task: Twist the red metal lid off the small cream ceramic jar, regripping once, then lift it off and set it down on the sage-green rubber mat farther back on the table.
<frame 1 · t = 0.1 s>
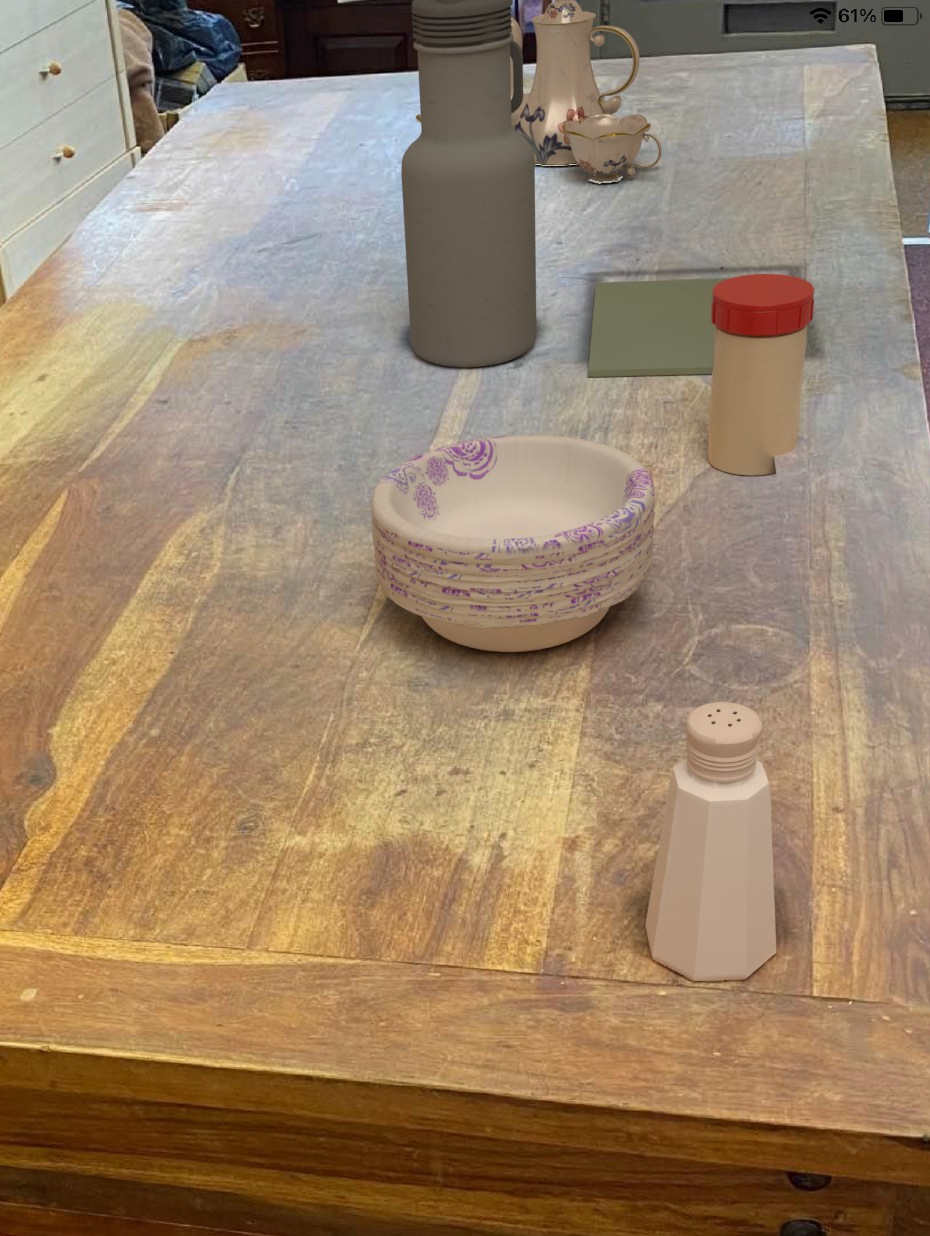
paper bowls: (513, 616, 91), on the table
jar: (751, 458, 105), on the table
pepper shaker: (709, 945, 67), on the table
mat: (696, 327, 126), on the table
chinaware: (548, 166, 169), on the table
lid: (762, 294, 99), point 11 cm above the table, screwed on, not yet turned
water bottle: (474, 349, 127), on the table
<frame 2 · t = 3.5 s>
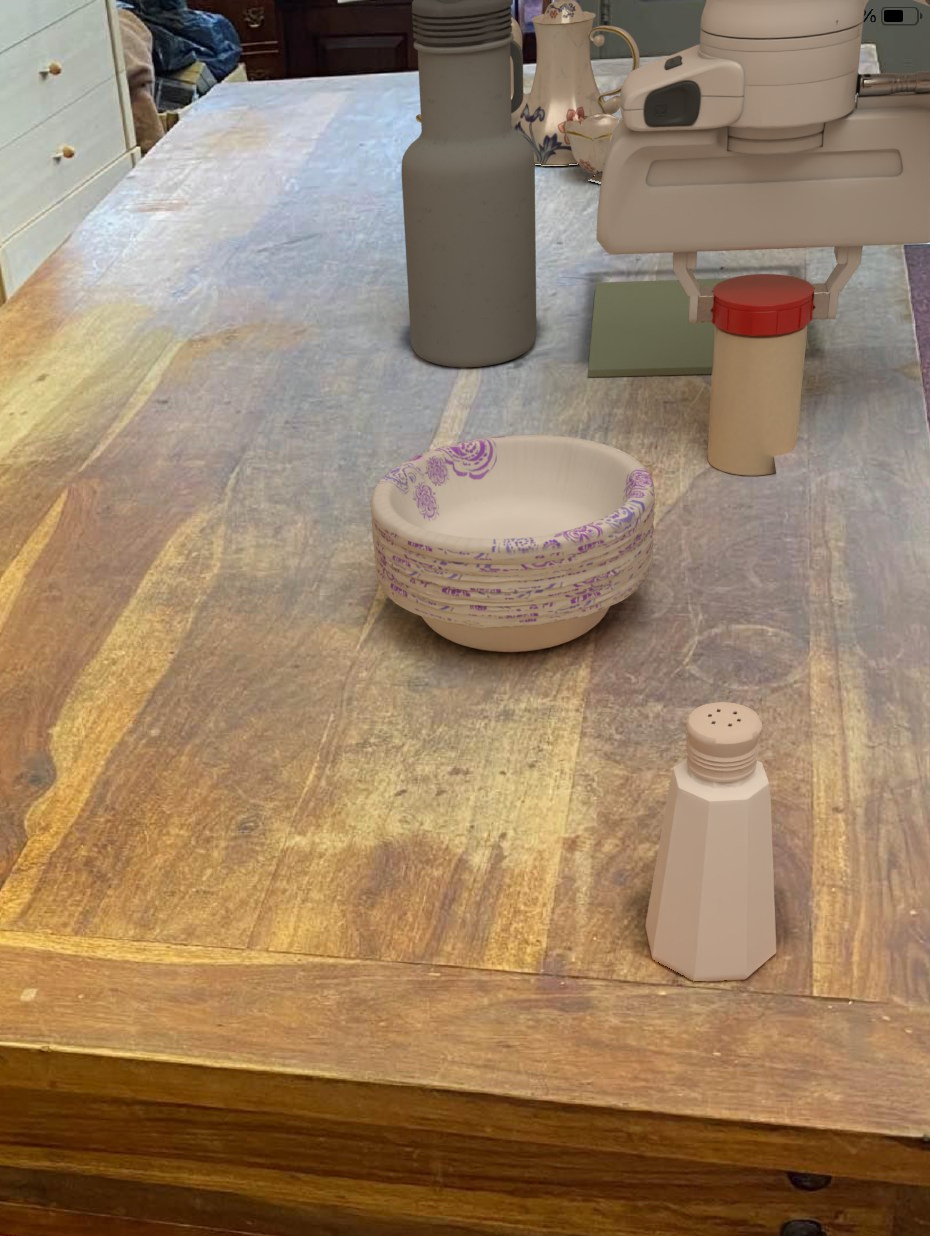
hand: (760, 318, 100), 9 cm above the table, tool pointing down, fingers closed on lid, 6 cm apart
lid: (762, 295, 99), point 11 cm above the table, screwed on, not yet turned, touching gripper
everything else where it was.
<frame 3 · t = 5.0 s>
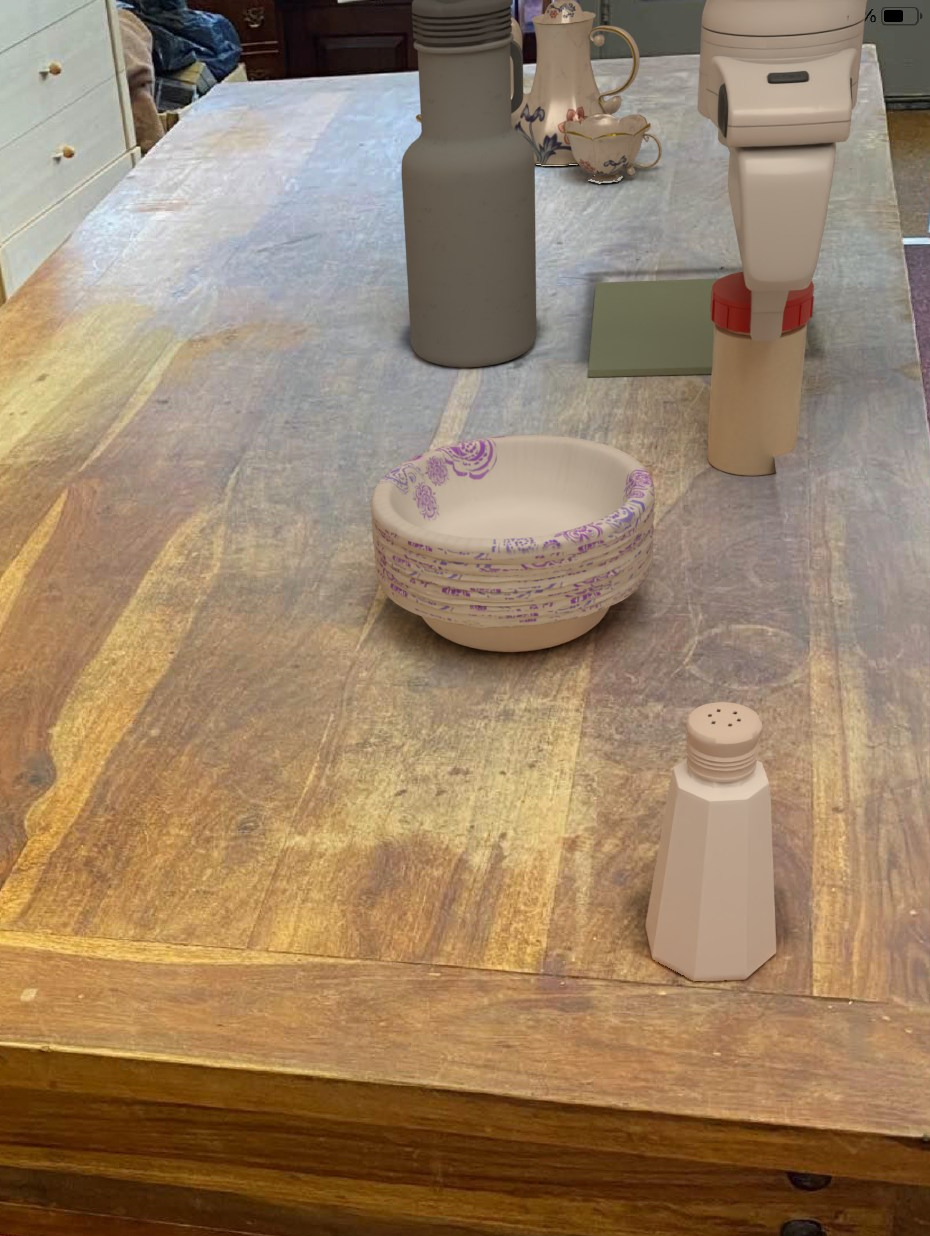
hand: (760, 316, 100), 9 cm above the table, tool pointing down, fingers closed on lid, 6 cm apart
lid: (762, 291, 99), point 11 cm above the table, turned 91° so far, risen 0.2 cm, still on its thread, touching gripper
everything else where it was.
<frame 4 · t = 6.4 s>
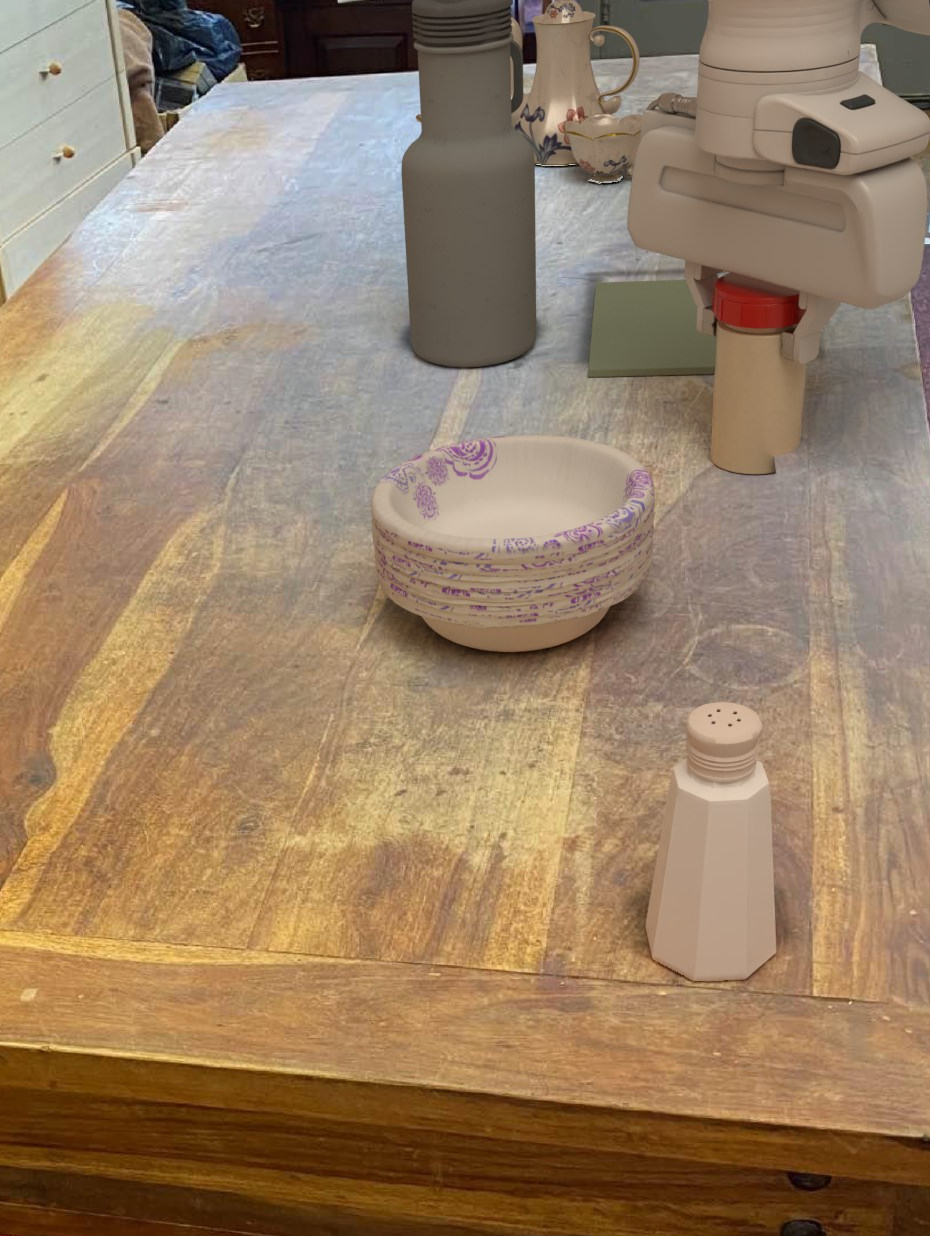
hand: (756, 346, 101), 8 cm above the table, tool pointing down, fingers closed on jar, 5 cm apart
jar: (754, 457, 105), on the table, touching gripper
lid: (765, 288, 99), point 11 cm above the table, turned 135° so far, risen 0.3 cm, still on its thread
everything else where it was.
when the fingers open (7 cm above the table, at t = 8.0 s): jar stays where it is, on the table.
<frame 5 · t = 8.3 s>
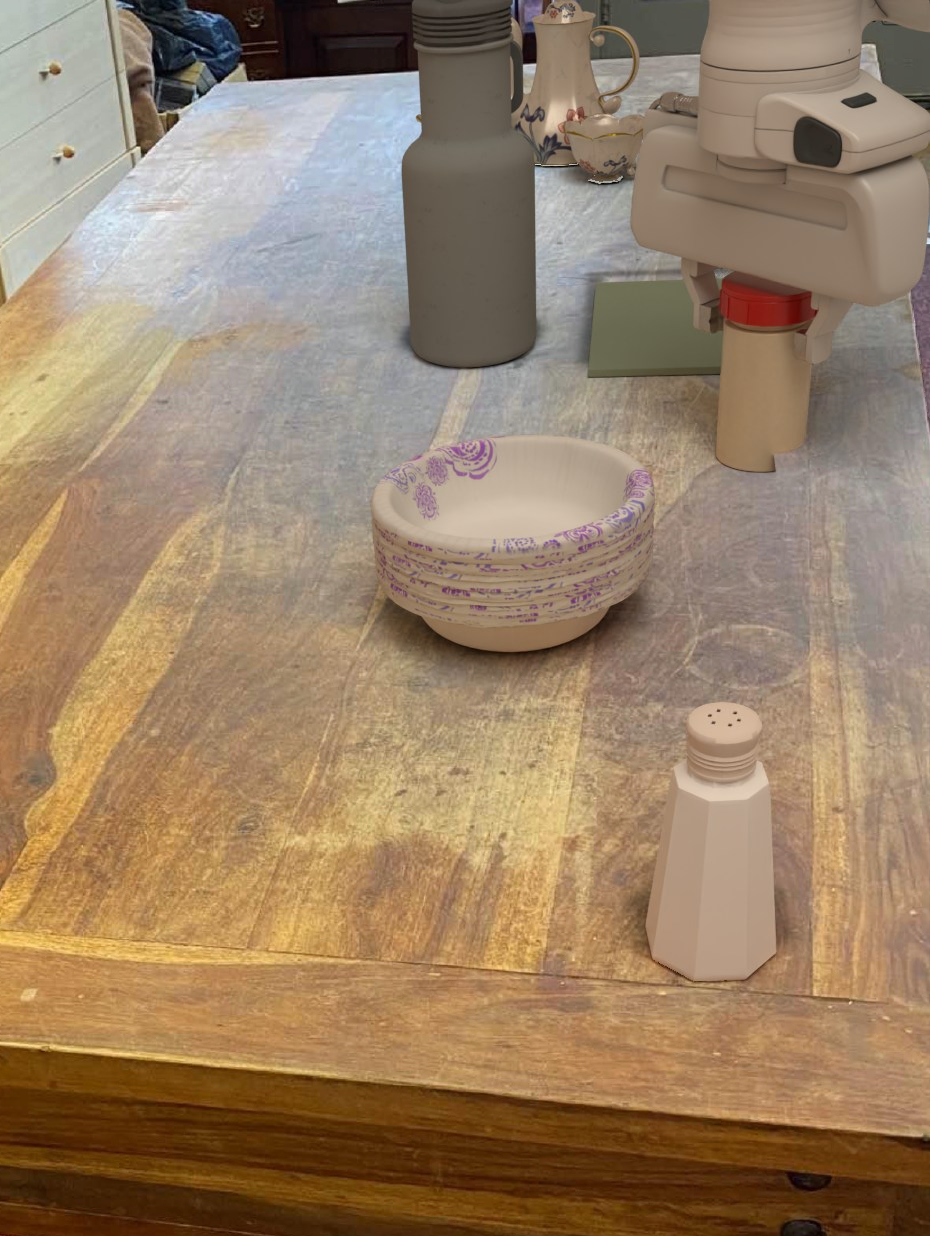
hand: (759, 344, 101), 8 cm above the table, tool pointing down, fingers open, 7 cm apart
jar: (759, 454, 106), on the table
everything else where it was.
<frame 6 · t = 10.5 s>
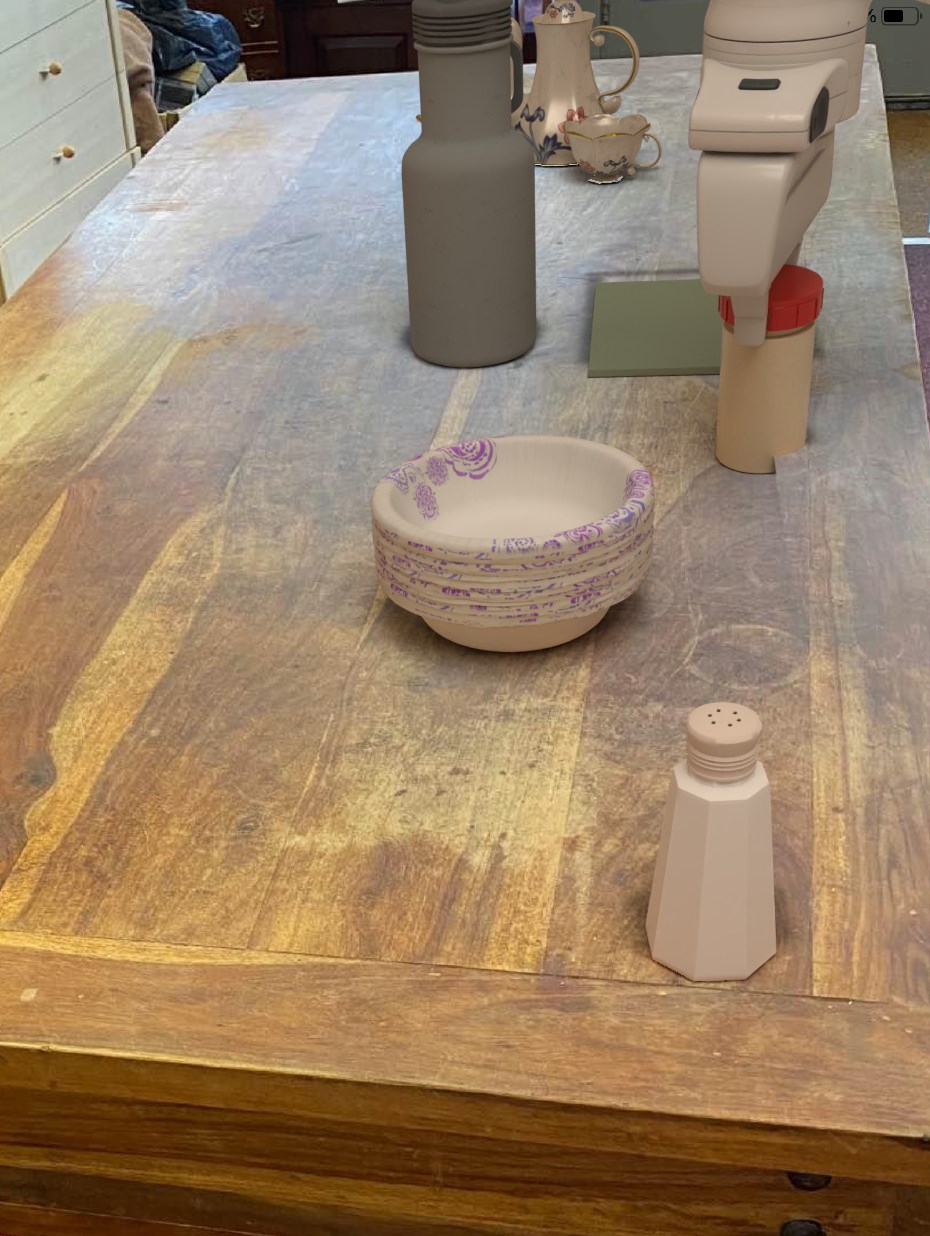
hand: (763, 321, 100), 9 cm above the table, tool pointing down, fingers closed on lid, 6 cm apart
jar: (759, 453, 105), on the table, touching gripper
lid: (771, 288, 98), point 11 cm above the table, off its thread, touching gripper
everything else where it was.
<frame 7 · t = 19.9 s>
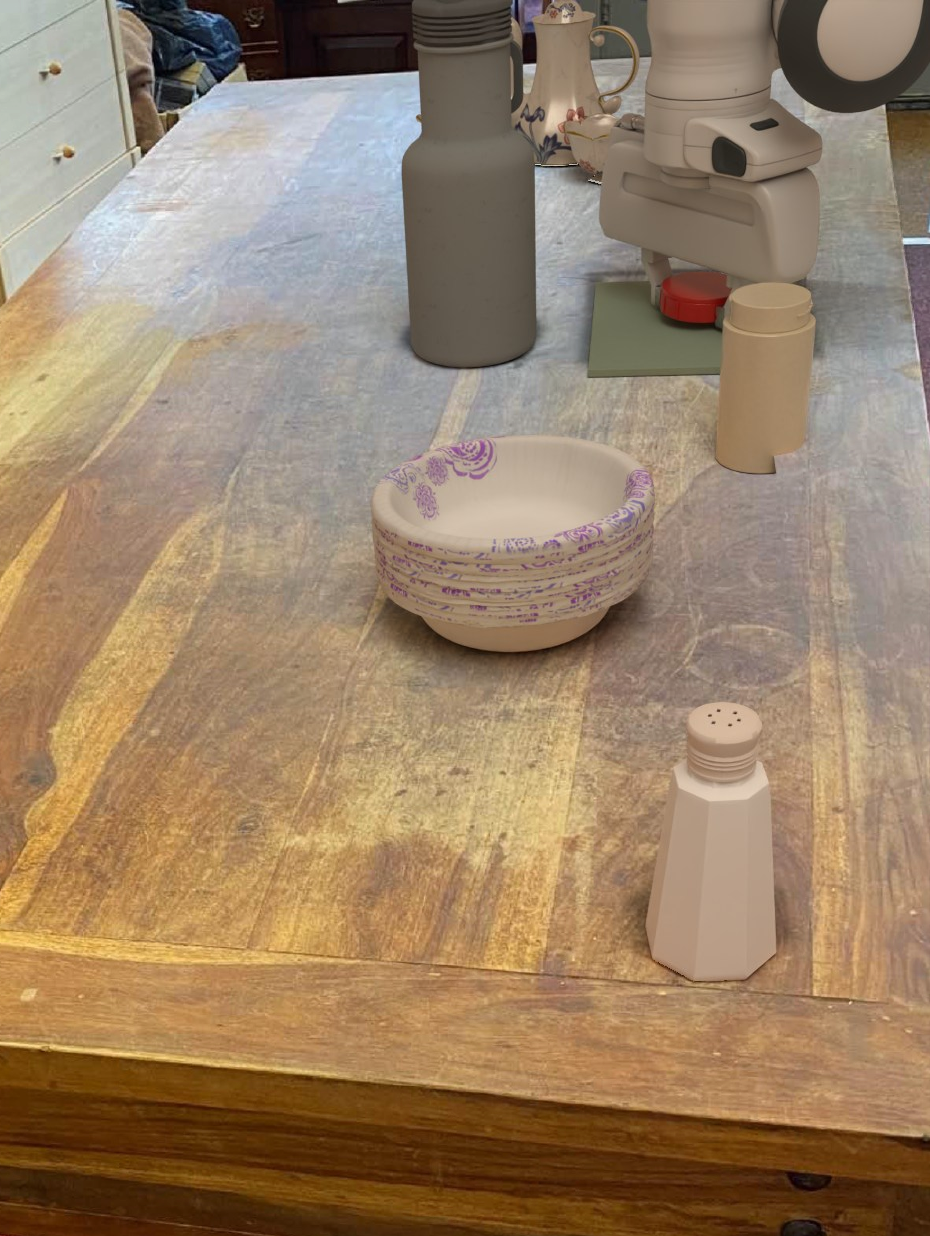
hand: (697, 317, 125), 1 cm above the table, tool pointing down, fingers closed on lid, 6 cm apart
jar: (759, 456, 106), on the table
lid: (701, 289, 124), point 3 cm above the table, off its thread, touching gripper
everything else where it was.
when the fingers open (2 cm above the table, at t = 30.5 s): lid drops 2 cm, resting on mat.
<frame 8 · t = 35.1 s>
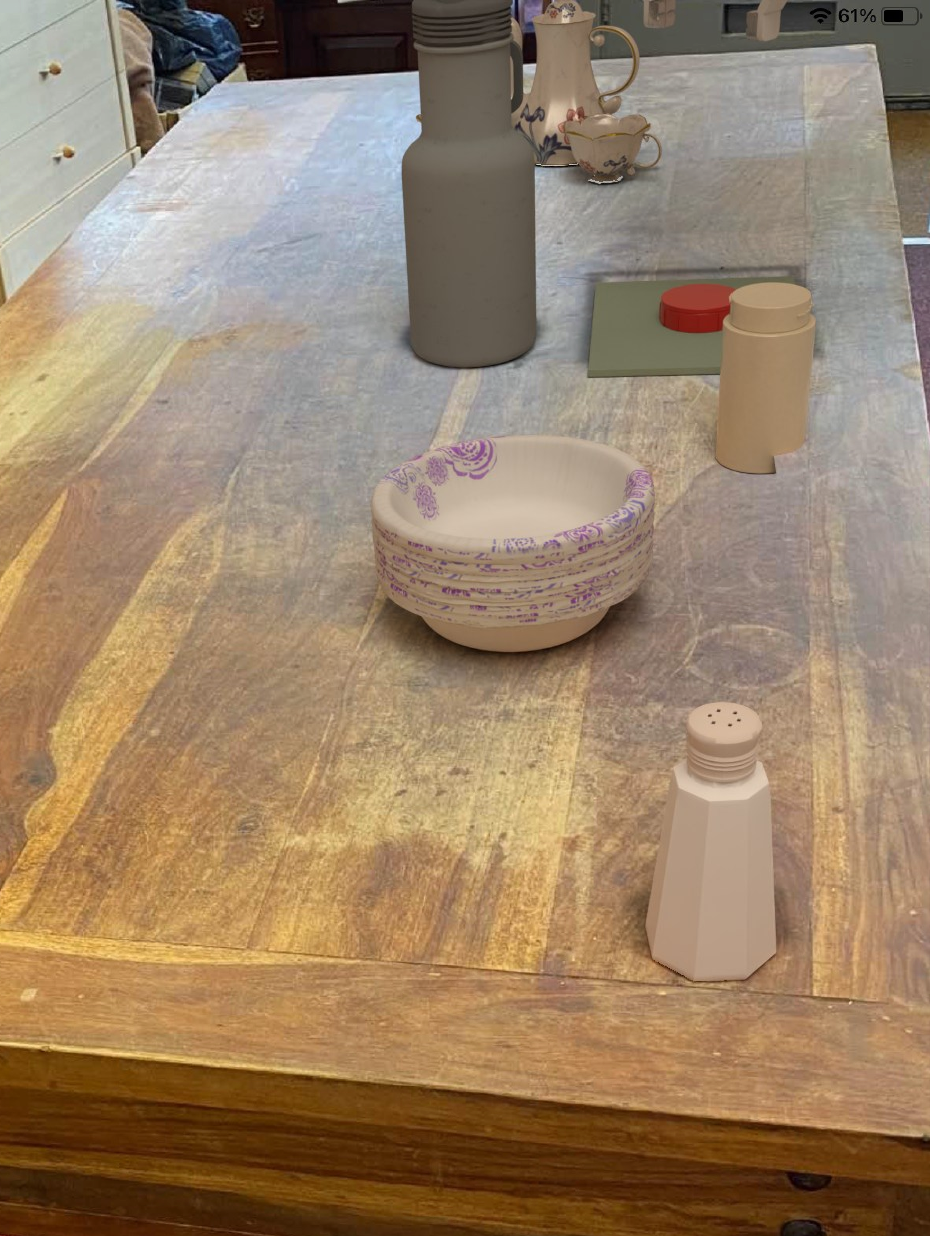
hand: (709, 32, 114), 21 cm above the table, tool pointing down, fingers open, 8 cm apart
lid: (700, 300, 125), point 2 cm above the table, off its thread, touching mat
everything else where it was.
at the end: lid inside the target area on the mat (0.3 cm from its centre), point 2.1 cm above the mat's base; lid point 2.1 cm above the table; the gripper is holding nothing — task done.
